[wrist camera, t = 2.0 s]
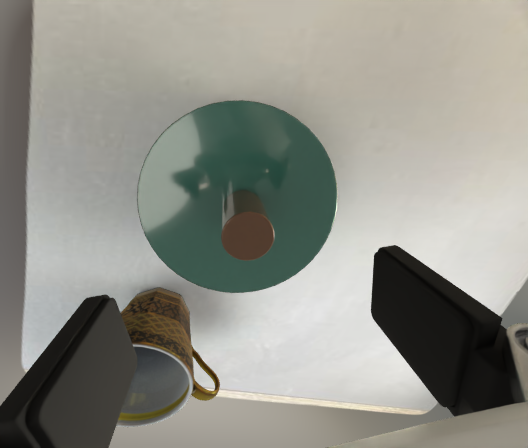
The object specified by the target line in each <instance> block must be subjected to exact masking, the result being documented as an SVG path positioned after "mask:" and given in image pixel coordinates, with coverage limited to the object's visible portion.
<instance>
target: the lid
mask: <svg viewBox="0 0 528 448" xmlns="http://www.w3.org/2000/svg"><path fill="white" fill-rule="evenodd" d="M137 204H138V213H139V217H140V222H141V225H142V228H143V230H144V233H145V236H146V238H147V240H148V241H149V243H150V245H151V247H152V248H153V250H154V251H155V252H156V254H157V255H158V257H159V258H160V259H161V260H162V261H163V262H164V263H165V264H166V265H167V266H168V267H169V268H170V269H172V270H173V271H174V272H175V273H177V274H178V275H180V276H181V277H183V278H184V279H186V280H188V281H190V282H192V283H194V284H196V285H198V286H201V287H204V288H207V289H211V290H215V291H220V292H230V293H244V292H253V291H258V290H262V289H266V288H269V287H272V286H275V285H277V284H279V283H281V282H284V281H286V280H287V279H289V278H291V277H292V276H294V275H296V274H297V273H298V272H299V271H301V270H302V269H303V268H305V267H306V266H307V265H308V264H309V263H310V262H311V261H312V260H313V258H314V257H315V256H316V255H317V254H318V252H319V251H320V250H321V248H322V246H323V245H324V243H325V242H326V240H327V238H328V235H329V233H330V231H331V229H332V225H333V222H334V219H335V214H336V209H337V183H336V178H335V173H334V169H333V166H332V164H331V161H330V158H329V156H328V154H327V152H326V150H325V149H324V147H323V146H322V144H321V143H320V141H319V140H318V138H317V137H316V136H315V135H314V134H313V133H312V132H311V131H310V130H309V128H308V127H306V126H305V125H304V124H303V123H302V122H300V121H299V120H298V119H296V118H295V117H293V116H291V115H290V114H288V113H286V112H285V111H283V110H280V109H278V108H275V107H273V106H270V105H266V104H262V103H259V102H252V101H243V100H240V101H224V102H218V103H213V104H209V105H206V106H204V107H201V108H198V109H196V110H194V111H192V112H190V113H188V114H186V115H184V116H183V117H181V118H180V119H178V120H177V121H176V122H174V123H173V124H172V125H170V126H169V127H168V128H167V129H166V130H165V131H164V132H163V133H162V134H161V135H160V137H159V138H158V139H157V141H156V142H155V143H154V145H153V146H152V148H151V149H150V151H149V153H148V155H147V157H146V159H145V161H144V164H143V167H142V169H141V173H140V177H139V182H138V191H137Z"/></svg>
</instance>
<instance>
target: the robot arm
mask: <svg viewBox="0 0 528 448" xmlns="http://www.w3.org/2000/svg"><path fill="white" fill-rule="evenodd" d="M371 313H372V317H373V319H374V320H375V322H376V323H377V324H378V326H379V327H380V328H381V329H382V331H383V332H384V333H385V335H386V336H387V337H388V338H389V340H390V341H391V342H392V344H393V345H394V346H395V347H396V349H397V350H398V351H399V353H400V354H401V355H402V356H403V358H404V359H405V360H406V362H407V363H408V364H409V365H410V367H411V368H412V369H413V371H414V372H415V373H416V374H417V376H418V377H419V378H420V380H421V381H422V382H423V383H424V385H425V386H426V387H427V389H428V390H429V391H430V392H431V394H432V395H433V396H434V398H435V399H436V400H437V401H438V402H439V403H440V404H441V405H442V406H443V407H447V408H448V409H449V410H450V412H451V413H452V414H453V415H454V417H451V418H447V419H443V420H439V421H435V422H431V423H426V424H422V425H418V426H414V427H410V428H406V429H401V430H397V431H393V432H389V433H384V434H380V435H377V436H372V437H368V438H364V439H359V440H356V441H351V442H347V443H343V444H339V445H335V446H331V447H327V448H528V323H519V324H518V323H517V324H514V325H511V326H510V327H509V328H508V329H505V328H504V327H503V326H501V325H500V324H501V321H502V318H501V317H500V316H498V315H497V314H496V313H494V312H493V311H491V310H490V309H488V308H487V307H485V306H484V305H482V304H481V303H480V302H478V301H477V300H475V299H474V298H472V297H471V296H469V295H468V294H467V293H465V292H464V291H462V290H461V289H459V288H458V287H456V286H455V285H453V284H452V283H451V282H449V281H448V280H446V279H445V278H443V277H442V276H440V275H439V274H438V273H436V272H435V271H433V270H432V269H430V268H429V267H427V266H426V265H424V264H423V263H422V262H420V261H419V260H417V259H416V258H414V257H413V256H411V255H410V254H409V253H407V252H406V251H404V250H403V249H401V248H400V247H398V246H396V245H393V246H388V247H382V248H380V249H379V250H378V252H376V253H375V255H374V268H373V285H372V302H371ZM137 363H138V359H137V355H136V352H135V350H134V347H133V344H132V342H131V339H130V337H129V334H128V332H127V329H126V326H125V324H124V321H123V319H122V316H121V314H120V311H119V308H118V306H117V303H116V301H115V299H114V298H110V297H109V296H108V295H101V296H95V297H89V298H86V299H85V300H84V301H83V302H82V304H81V305H80V306H79V307H78V309H77V310H76V311H75V313H74V314H73V315H72V316H71V318H70V319H69V320H68V321H67V323H66V324H65V325H64V326H63V328H62V329H61V330H60V331H59V333H58V334H57V335H56V336H55V338H54V339H53V340H52V342H51V343H50V344H49V345H48V347H47V348H46V349H45V350H44V352H43V353H42V354H41V355H40V357H39V358H38V359H37V360H36V362H35V363H34V364H33V365H32V367H31V368H30V369H29V371H28V372H27V373H26V374H25V376H24V377H23V378H22V379H21V381H20V382H19V383H18V384H17V386H16V387H15V389H14V390H13V391H12V392H11V393H10V395H9V396H8V397H7V398H6V400H5V401H4V402H3V403H2V405H1V406H0V448H108V447H109V444H110V441H111V439H112V436H113V433H114V430H115V427H116V425H117V422H118V419H119V416H120V413H121V411H122V408H123V405H124V402H125V399H126V397H127V394H128V391H129V388H130V385H131V382H132V380H133V377H134V374H135V371H136V368H137Z"/></svg>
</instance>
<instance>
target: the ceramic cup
mask: <svg viewBox="0 0 528 448" xmlns="http://www.w3.org/2000/svg"><path fill="white" fill-rule="evenodd" d="M120 314H121V316H122V319H123V321H124V324H125V326H126V329H127V332H128V334H129V337H130V339H131V342H132V344H133V347H134V350H135V352H136V355H137V359H138V363H137V368H136V371H135V374H134V377H133V380H132V382H131V385H130V388H129V391H128V394H127V397H126V399H125V402H124V405H123V408H122V411H121V413H120V416H119V419H118V422H117V425H116V426H124V427H136V426H145V425H150V424H154V423H157V422H160V421H163V420H165V419H167V418H169V417H171V416H172V415H174V414H176V413H177V412H178V411H180V410H181V409H182V408H183V407H184V406H185V404H186V403H187V402H188V400H189V399H190V397H191V395H192V396H194V397H195V398H197V399H199V400H210V399H212V398H214V397H215V396H216V395H217V393H218V391H219V387H220V382H219V379H218V377H217V375H216V374H215V373H214V372H213V370H212V369H210V368H209V367H208V366H207V365H206V364H205V362H204V361H203V360H202V359H201V357H200V356H199V354H198V353H197V352H196V351H195V350H194V349H193V347H192V345H191V335H190V319H189V310H188V308H187V306H186V304H185V302H184V300H183V298H182V297H181V295H180V294H177V293H174V292H171V291H168V290H165V289H162V288H155V289H152V290H149V291H146V292H143V293H140V294H138V295H136V296H135V297H134V298H133V299H132V301H131V302H130V303H129V304H128V305H127V307H126V308H125V309H124V310H123V311H122V312H121V313H120ZM192 356H193V357H194V358H195V359H196V361H197V363H198V364H199V365H200V367H201V368H202V369H203V370H204V371H205V372H206V373H207V374H208V375H209V376H210V377H211V378H212V379H213V381H214V383H215V390H214V391H209V390H206V389H204V388H203V387H201V386H200V385H199V384H198V383H197V382H196V381H195V379H194V372H193V358H192Z"/></svg>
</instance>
